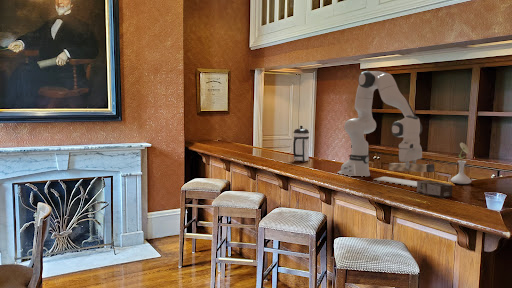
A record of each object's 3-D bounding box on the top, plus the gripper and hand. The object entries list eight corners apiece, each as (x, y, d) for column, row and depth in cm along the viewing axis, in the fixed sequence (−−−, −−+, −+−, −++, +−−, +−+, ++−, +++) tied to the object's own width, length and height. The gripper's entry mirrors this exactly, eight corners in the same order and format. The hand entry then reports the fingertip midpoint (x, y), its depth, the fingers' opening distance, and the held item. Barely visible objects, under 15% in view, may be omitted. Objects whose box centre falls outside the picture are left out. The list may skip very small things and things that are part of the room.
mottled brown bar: (388, 170, 245) (388, 163, 245) (392, 169, 247) (392, 162, 247) (430, 172, 224) (430, 164, 224) (434, 171, 227) (434, 164, 227)
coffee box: (416, 192, 229) (439, 198, 214) (416, 180, 228) (440, 186, 213) (428, 190, 232) (452, 196, 218) (429, 179, 232) (453, 184, 217)
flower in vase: (472, 186, 243) (474, 144, 241) (451, 184, 247) (453, 143, 244) (469, 181, 256) (471, 141, 253) (449, 180, 259) (451, 141, 257)
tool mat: (373, 180, 262) (373, 178, 262) (384, 177, 270) (384, 176, 270) (418, 187, 239) (418, 186, 239) (428, 184, 247) (428, 183, 247)
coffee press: (289, 160, 349) (289, 125, 346) (307, 159, 351) (308, 124, 347) (293, 163, 332) (293, 126, 329) (312, 163, 334) (313, 126, 330)
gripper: (415, 142, 243) (414, 165, 245) (396, 145, 230) (396, 169, 232) (425, 143, 239) (424, 166, 240) (407, 146, 225) (406, 170, 227)
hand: (410, 168), depth 236 cm, fingers closed on mottled brown bar, 4 cm apart
